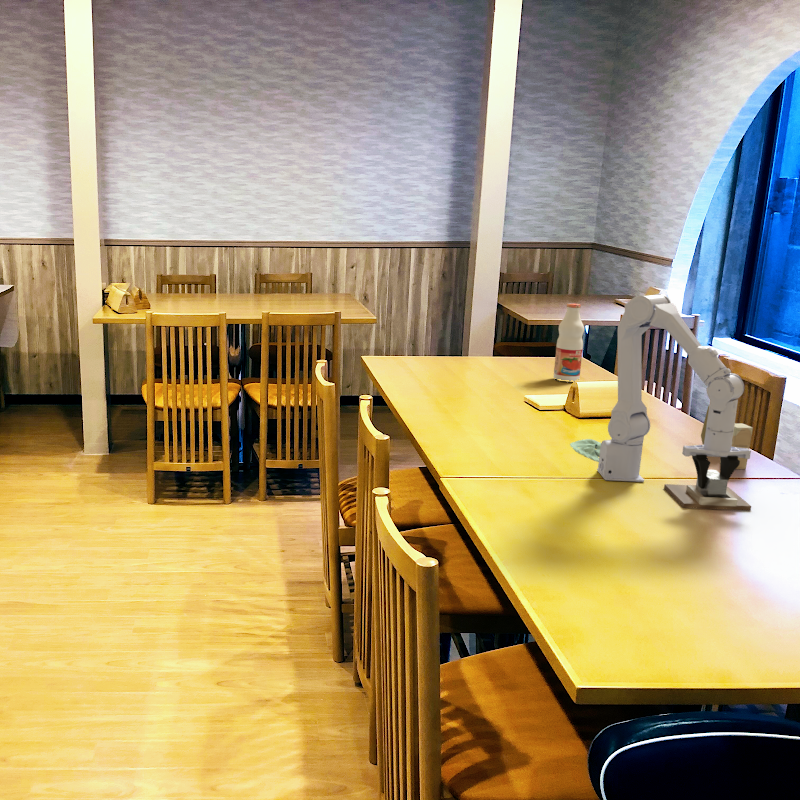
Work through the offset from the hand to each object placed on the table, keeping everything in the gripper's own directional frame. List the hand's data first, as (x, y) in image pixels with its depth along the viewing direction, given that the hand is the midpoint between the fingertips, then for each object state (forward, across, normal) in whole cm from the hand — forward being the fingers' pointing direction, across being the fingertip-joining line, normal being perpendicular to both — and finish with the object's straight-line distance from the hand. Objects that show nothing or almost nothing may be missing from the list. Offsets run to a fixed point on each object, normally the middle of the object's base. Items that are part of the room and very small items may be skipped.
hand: (711, 487), depth 196 cm
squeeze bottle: (+4, +18, +43) cm, 47 cm away
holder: (+3, 0, +2) cm, 4 cm away
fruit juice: (+4, -4, +128) cm, 128 cm away
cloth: (+4, -14, +36) cm, 39 cm away
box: (+4, +17, +28) cm, 33 cm away
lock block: (+2, 0, 0) cm, 2 cm away
